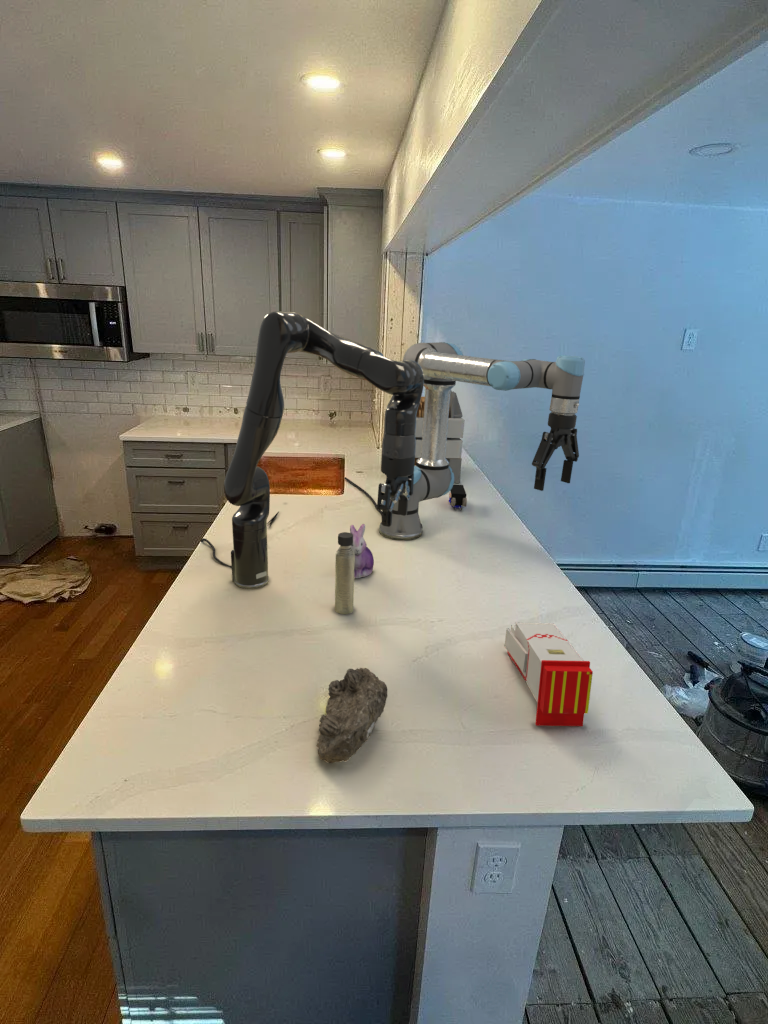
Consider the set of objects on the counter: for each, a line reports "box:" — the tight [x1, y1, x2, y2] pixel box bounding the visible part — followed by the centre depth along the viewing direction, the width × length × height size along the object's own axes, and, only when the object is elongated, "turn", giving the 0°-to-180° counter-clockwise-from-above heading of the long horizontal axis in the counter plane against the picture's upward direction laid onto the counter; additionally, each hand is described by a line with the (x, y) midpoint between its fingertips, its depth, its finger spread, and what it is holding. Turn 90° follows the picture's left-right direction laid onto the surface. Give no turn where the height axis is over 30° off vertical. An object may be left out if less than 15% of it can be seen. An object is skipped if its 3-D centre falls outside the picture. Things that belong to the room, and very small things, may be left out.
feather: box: [267, 512, 279, 529], centre depth 212 cm, size 2×28×2 cm
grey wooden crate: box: [386, 390, 465, 484], centre depth 268 cm, size 34×33×41 cm
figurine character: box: [448, 483, 468, 511], centre depth 230 cm, size 7×8×15 cm
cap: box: [337, 531, 353, 546], centre depth 142 cm, size 4×4×2 cm
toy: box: [503, 622, 594, 727], centre depth 121 cm, size 12×13×30 cm
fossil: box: [316, 667, 388, 764], centre depth 106 cm, size 22×10×15 cm
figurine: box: [349, 523, 375, 579], centre depth 167 cm, size 9×10×15 cm
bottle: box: [334, 545, 355, 615], centre depth 145 cm, size 5×5×21 cm
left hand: (394, 520), depth 132 cm, fingers open, 8 cm apart
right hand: (552, 485), depth 166 cm, fingers open, 13 cm apart
